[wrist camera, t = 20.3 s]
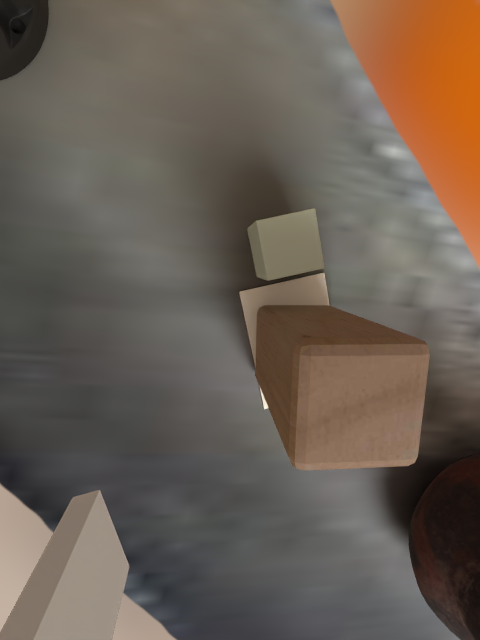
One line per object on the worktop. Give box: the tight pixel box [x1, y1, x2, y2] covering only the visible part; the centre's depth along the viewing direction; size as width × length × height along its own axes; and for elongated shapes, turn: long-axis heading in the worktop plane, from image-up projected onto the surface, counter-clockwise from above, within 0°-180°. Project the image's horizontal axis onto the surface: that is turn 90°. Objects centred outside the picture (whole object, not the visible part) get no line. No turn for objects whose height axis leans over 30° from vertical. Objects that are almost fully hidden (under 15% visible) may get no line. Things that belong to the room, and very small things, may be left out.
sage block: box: [247, 208, 325, 281], centre depth 37 cm, size 6×6×8 cm
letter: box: [239, 273, 330, 409], centre depth 43 cm, size 16×11×1 cm
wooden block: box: [255, 305, 430, 470], centre depth 33 cm, size 10×10×20 cm
